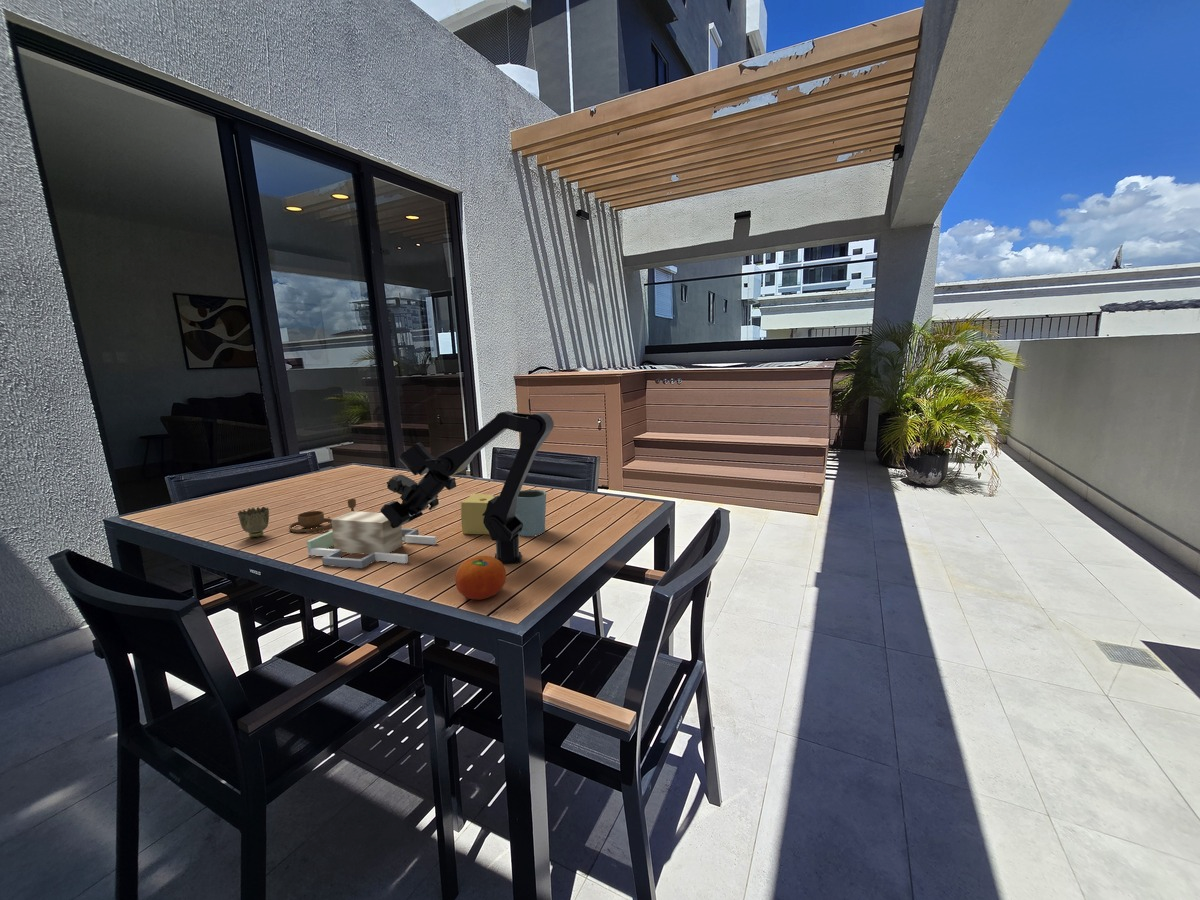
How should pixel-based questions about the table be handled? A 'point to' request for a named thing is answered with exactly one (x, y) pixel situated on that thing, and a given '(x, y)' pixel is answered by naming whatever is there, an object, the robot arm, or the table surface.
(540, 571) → the table surface
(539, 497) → the blue-gray cylindrical container
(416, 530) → the low angular wall frame
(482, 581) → the fruit
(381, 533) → the birch block
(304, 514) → the place setting
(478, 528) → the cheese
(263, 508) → the cup
